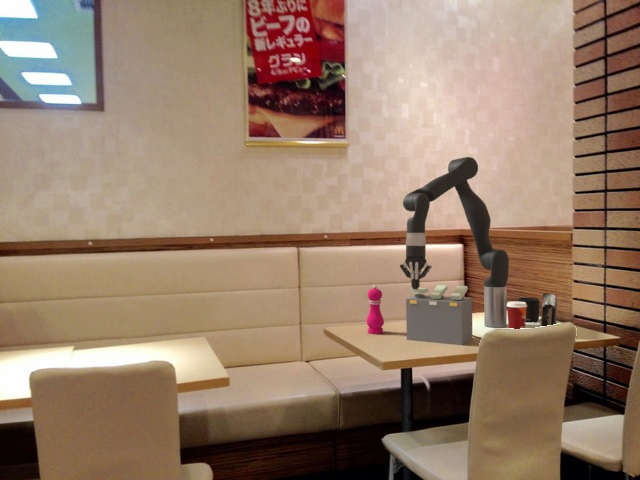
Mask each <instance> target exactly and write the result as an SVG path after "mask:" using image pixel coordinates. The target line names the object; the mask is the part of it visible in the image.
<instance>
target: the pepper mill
mask: <svg viewBox="0 0 640 480" xmlns="http://www.w3.org/2000/svg"><path fill="white" fill-rule="evenodd" d="M382 297H383V292H382V291H381V289H379V288H378V286H377V285H376V284H373V286H372V288H371V289H369V290H368V292H367V298H368V299H369V300H368V304H369V313H368V315H367V318H366V325H367V327H368V328H367V334H371V335H380V334H383V333H384V328H383V326H384V324H385V321H384V316H383V315H382V312H381V307H380V306H381V305H382V300H381V298H382Z"/></svg>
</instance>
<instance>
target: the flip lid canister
mask: <svg viewBox="0 0 640 480" xmlns="http://www.w3.org/2000/svg"><path fill="white" fill-rule="evenodd" d="M506 306H507V325H508V326H507V327H508V329H509V328H514V329H520V328H525V329H526V323H527V322H526V307H527V305H526V303H525V302H519V301H518V300H517V301H507V305H506Z"/></svg>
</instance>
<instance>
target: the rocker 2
mask: <svg viewBox="0 0 640 480" xmlns="http://www.w3.org/2000/svg"><path fill="white" fill-rule="evenodd" d="M447 290H448V285H447V284H437V285H436V287H435V288H434V289H433V290H432V291H431V293H430V294H429V295H430V297H431V298H435V299H440V298H441V297H442V296H443V295H445V293H446V292H447Z"/></svg>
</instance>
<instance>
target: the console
mask: <svg viewBox="0 0 640 480" xmlns="http://www.w3.org/2000/svg"><path fill="white" fill-rule="evenodd" d="M405 302H406V303H405V304H406V305H405V307H406V309H405V310H406V311H405V314H406V316H405V317H406V318H405V319H406V340H407V341H417V342H419V341H420V342H427V343H435V344H447V345H456V346H463V345H464V344H467V343H468V342H469V341H471V340H472V339H473V297H465V296H463V297H462V299H461V300H452V299H451V297H450V295H449V296H448V295H445V294H443V296H442V297H441V298H440V299H435V298H431V297H430V294H428V295H427V294H425V293H421V294H415V293H414V296H411V297H408V298H406V299H405Z"/></svg>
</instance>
